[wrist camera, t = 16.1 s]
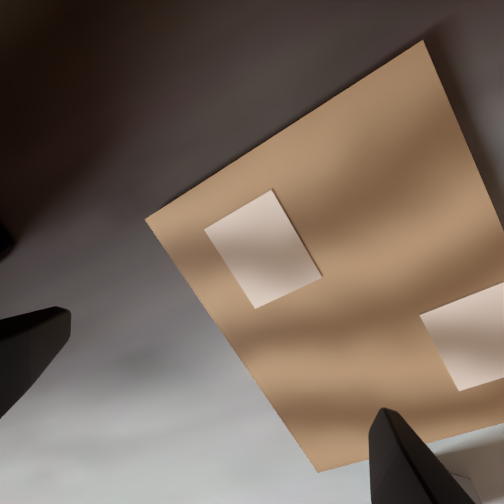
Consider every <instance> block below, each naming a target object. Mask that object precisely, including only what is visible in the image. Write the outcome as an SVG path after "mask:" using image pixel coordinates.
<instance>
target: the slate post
mask: <svg viewBox="0 0 504 504" xmlns="http://www.w3.org/2000/svg"><path fill="white" fill-rule="evenodd" d="M450 474H451V475H452V476H453V477H454V478H455V480H456V481H457V482H458V483H459V484H460V486H461V487H462V488H463V489H464V490H465V491H466V493H467V494H468V495H469V496H470V497H471V499H472V500H473V501H474V502H475V503H476V504H482V503H481V501H480V499H479V496H478V494H477V492H476V490H475V488H474V486H473V484H472V482H471V480H470V479H468V478H465V477H461V476H458V475H455V474H452V473H450Z"/></svg>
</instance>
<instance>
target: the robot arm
mask: <svg viewBox="0 0 504 504" xmlns="http://www.w3.org/2000/svg"><path fill="white" fill-rule="evenodd" d="M4 242H5V243H4ZM13 244H14V243H13V240H12V238H11V237H10V236H9V234H8V233H7V232H6V230H5V229H4V228H3V227H2V225H1V224H0V256H1V255H2V254H4V253H5V252H6V251H8V250H9V249H10V248H12V247H13ZM70 333H71V312H70V311H69V310H68V309H64V308H61V307H57V306H55V307H50V308H46V309H42V310H38V311H34V312H30V313H26V314H21V315H17V316H13V317H9V318H5V319H1V320H0V419H1V418H2V416H3V415H4V414H5V413H6V412H7V411H8V410H9V409H10V408H11V407H12V406H13V405H14V404H15V403H16V402H17V401H18V400H19V399H20V398H21V397H22V396H23V395H24V394H25V393H26V392H27V390H28V389H29V388H30V387H31V386H32V385H33V384H34V383H35V381H36V380H37V379H38V378H39V377H40V375H41V374H42V373H43V372H44V370H45V369H46V368H47V367H48V365H49V364H50V363H51V362H52V360H53V359H54V358H55V357H56V355H57V354H58V353H59V352H60V350H61V349H62V348H63V347H64V345H65V344H66V343H67V341H68V340H69V337H70ZM368 443H369V467H370V490H371V502H372V504H476V503H475V502H474V501H473V500H472V499H471V497H470V496H469V495H468V494H467V493H466V491H465V490H464V489H463V488H462V487H461V486H460V484H459V483H458V482H457V481H456V480H455V478H454V477H453V476H452V475H451V474H450V473H449V471H448V470H447V469H446V468H445V467H444V465H443V464H442V463H441V462H440V461H439V460H438V458H437V457H436V456H435V455H434V454H433V452H432V451H431V450H430V449H429V448H428V447H427V445H426V444H425V443H424V442H423V441H422V439H421V438H420V437H419V436H418V435H417V434H416V432H415V431H414V430H413V429H412V428H411V426H410V425H409V424H408V423H407V422H406V421H405V419H404V418H403V417H402V416H401V415H400V414H399V412H397V411H395V410H392V409H389V408H385V407H382V408H380V409H379V411H378V413H377V415H376V417H375V419H374V421H373V423H372V425H371V427H370V429H369V434H368Z"/></svg>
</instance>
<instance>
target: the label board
mask: <svg viewBox="0 0 504 504" xmlns="http://www.w3.org/2000/svg"><path fill="white" fill-rule="evenodd" d="M145 221H146V222H147V224H148V225H149V226H150V228H151V229H152V231H153V232H154V234H155V235H156V237H157V238H158V240H159V241H160V243H161V244H162V245H163V247H164V248H165V250H166V251H167V253H168V254H169V256H170V257H171V259H172V260H173V262H174V263H175V265H176V266H177V267H178V269H179V270H180V272H181V273H182V275H183V276H184V278H185V279H186V281H187V282H188V284H189V285H190V286H191V288H192V289H193V291H194V292H195V294H196V295H197V297H198V298H199V300H200V301H201V303H202V304H203V305H204V307H205V308H206V310H207V311H208V313H209V314H210V316H211V317H212V319H213V320H214V322H215V323H216V324H217V326H218V327H219V329H220V330H221V332H222V333H223V335H224V336H225V338H226V339H227V341H228V342H229V343H230V345H231V346H232V348H233V349H234V351H235V352H236V354H237V355H238V357H239V358H240V360H241V361H242V362H243V364H244V365H245V367H246V368H247V370H248V371H249V373H250V374H251V376H252V377H253V379H254V380H255V381H256V383H257V384H258V386H259V387H260V389H261V390H262V392H263V393H264V395H265V396H266V398H267V399H268V400H269V402H270V403H271V405H272V406H273V408H274V409H275V411H276V412H277V414H278V415H279V417H280V418H281V419H282V421H283V422H284V424H285V425H286V427H287V428H288V430H289V431H290V433H291V434H292V436H293V437H294V438H295V440H296V441H297V443H298V444H299V446H300V447H301V449H302V450H303V452H304V453H305V455H306V456H307V458H308V459H309V460H310V462H311V463H312V465H313V466H314V468H315V469H316V471H317V472H318V473H319V472H323V471H326V470H330V469H334V468H337V467H341V466H345V465H349V464H352V463H356V462H360V461H363V460H367V459H369V443H368V434H369V429H370V427H371V425H372V423H373V421H374V419H375V417H376V415H377V413H378V411H379V409H380V408H382V407H385V408H389V409H392V410H395V411H397V412H399V414H400V415H401V416H402V417H403V418H404V419H405V421H406V422H407V423H408V424H409V425H410V426H411V428H412V429H413V430H414V431H415V432H416V434H417V435H418V436H419V437H420V438H421V439H422V441H423V442H424V443H425V444H426V443H430V442H434V441H438V440H441V439H445V438H449V437H452V436H456V435H460V434H463V433H467V432H471V431H475V430H478V429H482V428H486V427H489V426H493V425H497V424H501V423H504V230H503V228H502V226H501V223H500V221H499V218H498V216H497V214H496V211H495V209H494V207H493V204H492V202H491V200H490V197H489V195H488V193H487V190H486V188H485V185H484V183H483V181H482V178H481V176H480V174H479V171H478V169H477V167H476V164H475V162H474V160H473V157H472V155H471V152H470V150H469V148H468V145H467V143H466V141H465V138H464V136H463V134H462V131H461V129H460V126H459V124H458V122H457V119H456V117H455V115H454V112H453V110H452V108H451V105H450V103H449V101H448V98H447V96H446V93H445V91H444V89H443V86H442V84H441V82H440V79H439V77H438V75H437V72H436V70H435V68H434V65H433V63H432V60H431V58H430V56H429V53H428V51H427V49H426V46H425V44H424V42H423V40H422V41H420V42H419V43H417V44H416V45H414V46H413V47H411V48H410V49H408V50H406V51H405V52H403V53H402V54H400V55H399V56H397V57H396V58H394V59H393V60H391V61H389V62H388V63H386V64H385V65H383V66H382V67H380V68H379V69H377V70H375V71H374V72H372V73H371V74H369V75H368V76H366V77H365V78H363V79H362V80H360V81H358V82H357V83H355V84H354V85H352V86H351V87H349V88H348V89H346V90H345V91H343V92H341V93H340V94H338V95H337V96H335V97H334V98H332V99H331V100H329V101H327V102H326V103H324V104H323V105H321V106H320V107H318V108H317V109H315V110H314V111H312V112H310V113H309V114H307V115H306V116H304V117H303V118H301V119H300V120H298V121H296V122H295V123H293V124H292V125H290V126H289V127H287V128H286V129H284V130H283V131H281V132H279V133H278V134H276V135H275V136H273V137H272V138H270V139H269V140H267V141H266V142H264V143H262V144H261V145H259V146H258V147H256V148H255V149H253V150H252V151H250V152H248V153H247V154H245V155H244V156H242V157H241V158H239V159H238V160H236V161H235V162H233V163H231V164H230V165H228V166H227V167H225V168H224V169H222V170H221V171H219V172H217V173H216V174H214V175H213V176H211V177H210V178H208V179H207V180H205V181H204V182H202V183H200V184H199V185H197V186H196V187H194V188H193V189H191V190H190V191H188V192H187V193H185V194H183V195H182V196H180V197H179V198H177V199H176V200H174V201H173V202H171V203H169V204H168V205H166V206H165V207H163V208H162V209H160V210H159V211H157V212H156V213H154V214H152V215H151V216H149V217H148V218H146V219H145Z"/></svg>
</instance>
